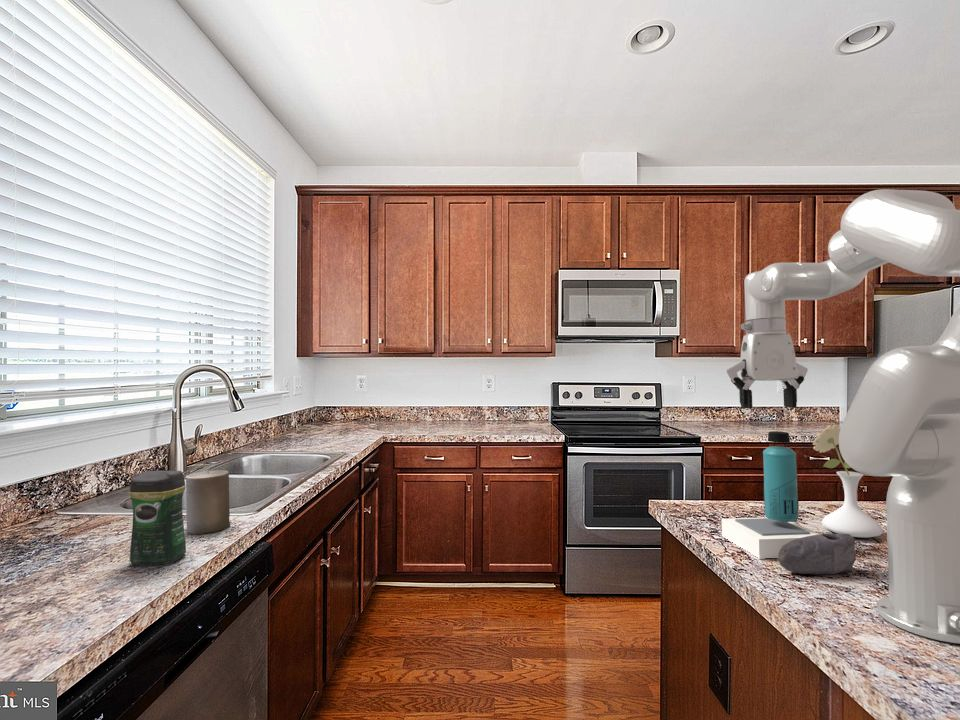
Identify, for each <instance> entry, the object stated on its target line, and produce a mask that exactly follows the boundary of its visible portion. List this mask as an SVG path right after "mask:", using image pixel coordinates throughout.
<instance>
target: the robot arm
mask: <svg viewBox="0 0 960 720" xmlns="http://www.w3.org/2000/svg"><path fill="white" fill-rule="evenodd" d="M839 228H840V229H839V230H837V231H836V232H835V233H834V234H833V235H832V236H831V238H830V239H829V241H828V246H827V252H828V257H829V259H827V260H824V261H821V262H774V263H772V264H769V265H767V266H766V267H764V268H763V269H761V270H757V271H754V272H750V273H748V274H747V275H745V278H744V280H743V282H744V307H745V309H744V312H745V313H744V314H745V320H744V323H741V324H740V329H741V330H744V332H745V335H743V338H742V341H741V348H740V358H739V359H740V360H739V361H740V362H738V363H736V364H735V365H732V366H731V367H730V368H727V369H726V373H727V375H728V377H729V378H730V382H731V383H732V384H733V385H734V386H735V387H736V389H737V390H738V392H739V394H738V395H739V404H740V407H741V409H747V410H748V409H749V410H750V409H752V408H753V390H752V389H750V388H751V386H752V385H753V384H754V383H755V381H764V382H765V381H766V382H767V381H772V382H773V381H780V382H781V384H783V385H784V388H783V390H782V391H783V406H784V408H792V409H795V408H797V407H798V406H797V403H798V393H797V392H798V391H797V390H798V389H799V388H800V385H801V384H802V383H803V382H804V381H805V377H806V375H807V374H808V370H809V369H808V368H807V366H804V365H802V364H799V363H798V362H797V359H796V351H795V346H794V343H793V339H792V336H791V334H790V333H787V326H786V325H787V324H786V301H819V300H820V301H821V300H826V299H829V298H832V297H834V296H837V295H840V294H842V293H845V292H847V291H850V290H852V289H854V288H856V287H858V286H859V284H861V283H862V281H863V280H865V278H866V276H867V275H868V273H869V272H870V271H872V270H875V269H877V268H879V267H881V266H883V265H886V264H888V263H890V264H892V265H895V266H896V267H900V268H901V269H904V270H907V271H909V272H912V273H915V274H919V275H924V276H929V277H958V278H959V277H960V209H956V206H955V205H954V203H953V202H952V201H951V200H950V199H949V198H948V197H947V196H945V195H943V194H940V193H938V192H934V191H929V190H918V189H917V190H916V189H891V188H890V189H889V188H884V189H881V188H880V189H875V190H871V191H868V192H865V193H863V194H861V195H859V196H858V197H857V198H856V199H854V200H852V201H851V203H850V204H849V205H848V206H847V207H846V209H845V210H844V212H843V214H842V216H841V219H840V227H839ZM738 372H740V376H741V378H740V376H739V375H738ZM864 375H865V376H864V378H863V379H862V382H861V384H860V386H859V388H858V390H857V392H856V394H855V396H854V398H853V400H852V402H851V404H850V406H849V408H848V411H847V413H846V414H845V417H844V419H843V422H842V424H841V426H840V428H841V429H840V428H839V429H840V433H839V444H838V448H839V449H838V450H839V454H840V456H841V458H842V459H843V460H844V462H846V463H847V464H848V465H849V466H850V467H851V468H850V469H853V470H854V471H855V472H857V473H862V474H864V475H867V476H871V477H892V478H891V481H890V483H889V485H888V488H887V489H888V490H887V492H886V502H885V504H886V505H885V508H886V509H885V511H886V539H887V540H886V541H887V542H886V543H887V570H888V571H887V572H888V596H885V597H882V598H879V599H878V600H877V601H876V612H877V613H878V615H879V616H881V617H882V618H883V619H884V620H885V621H887V622H889V623H890V624H891V625H894V626H895V627H897V628H900V629H902V630H904V631H907V632H909V633H912V634H915V635H918V636H921V637H923V638H928V639H932V640H936V641H940V642H946V643H949V644H950V643H952V644H959V645H960V417H959V416H957V414H958V415H959V414H960V305H958V307H957V308H956V310H955V311H954V312H953V314H952V315H951V318H950V320H949V322H948V324H947V325H946V327H945V329H944V331H943V333H941V335H940V336H939V338H938V339H937V340H936V342H934V343H933V344H931V345H908V346H901V347H897V348H894V349H891V350H888V351H887V352H886V353H883V354H882V355H880V356H879V357H878V358H877V359H876V360H875V361H874V362H873V363H872V364H871V366H869V369H868V370H867V372H866V374H864ZM955 414H956V415H955Z"/></svg>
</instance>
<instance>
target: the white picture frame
mask: <svg viewBox="0 0 960 720" xmlns="http://www.w3.org/2000/svg"><path fill="white" fill-rule="evenodd" d="M818 534H819V533H818V532H816V531H813V530H812V529H809V528H807V527H804V526H802V525H800V524H798V523H796V522H782V521H776V520H772V519H769V518H767V517H766V516H765V517H763V516H762V517H737V518H735V517H733V518H729V517H728V518H721V537H723V538H725V539H726V540H727V539H728V541H729V542H730V543H732V542H733V543H732V544H734V545H735V544H736V546H737V547H739V548H740V547H741V548H740V549H742V548H743V549H745V550H746V552H747V551H748V552H750V553H751V554H750V553H749V554H750V555H752V554H753V555H754V556H753V555H752V556H753V557H755V556H756V557H758V558H759V559H758V558H757V559H758V560H766V559H765V558H778V553H779V551H780V549H781V548H782V546H784V545H785V544H786V543H788V542H790V541H792V540H795V539H798V538H802V537H807V536H812V535H818ZM743 549H742V550H743ZM745 550H744V551H745ZM748 552H747V553H748ZM756 557H755V558H756Z"/></svg>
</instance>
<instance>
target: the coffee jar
mask: <svg viewBox="0 0 960 720" xmlns="http://www.w3.org/2000/svg"><path fill="white" fill-rule="evenodd" d="M185 491H186V479H185V475H184V472H183V471H182V470H148V471H143V472H141V473H140V472H139V473H136V474H134V475H133V476H132V478H131V481H130V484H129V498H130V500H131V503H132V526H131V529H132V530H131V537H130V538H131V540H130V550H129V562H130V564H131V565H134V566H155V565H156V566H157V565H164V564H168V563H170V562H175V561H177V560H179V559H181V558H182V557H183V556H184V555H185V554H186V552H187V543H186V534H185V526H184V525H185V524H184V517H183V496H184V493H185Z"/></svg>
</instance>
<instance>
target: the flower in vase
mask: <svg viewBox="0 0 960 720" xmlns="http://www.w3.org/2000/svg"><path fill="white" fill-rule="evenodd" d="M840 429H841V427H840V426H839V425H838V424H834V425H832V426H831V425H829V424H828V425H827V427H825V428H824V429H823V431H821V432H819V433H817V437H816V438H815V439H814V440H813V442H812V445H813V450H814V451H816V452H819V453H826V452H829V451H831V449H835V451H836V454H837V456H838V459H837V458H831V459H830V460H827V461H826V462H825V463H824V464H823V465H822V467H824V468H827V469H834V468H836V467H837V466H839V464H840V463H841V465H842V466H843V468H844V470H840V471H836V475H838V477H839V478H840V480H841V482H842V487H843V491H844V492H843V493H844V501H843V504H842V505H841V507H838V509H835V510H834V511H832V512H830V513H829V514H827V515H826V516H824V517H823V518H822V521H821V524H822V526H823V527H824V528H825V529H827V530H828V531H831V532H833V533H834V534H850V535H851V536H852V537H854V538H863V539H864V538H865V539H866V538H875V537H879V536H881V535H882V534H883V533H884V529H883V527H882V525H881V524H880V523H879V522H878V521H876V519H874V518H873V517H871V516H870V515H869V514H867V513H866V512H865V511H864V510H862V508H860V506H859V503H858V498H857V497H858V496H857V495H858V493H857V491H858V486H859V482H860V481H861V479H862V477H864V475H865V474H862V473H860V472H858V471H849V470H848V469H852V468H851V467H850V466H849V465H848V464H847V463H846V462H845V461H844V462H843V460H842V456H841V453H840V451H839V449H838V448H837V446H839V433H840Z"/></svg>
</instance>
